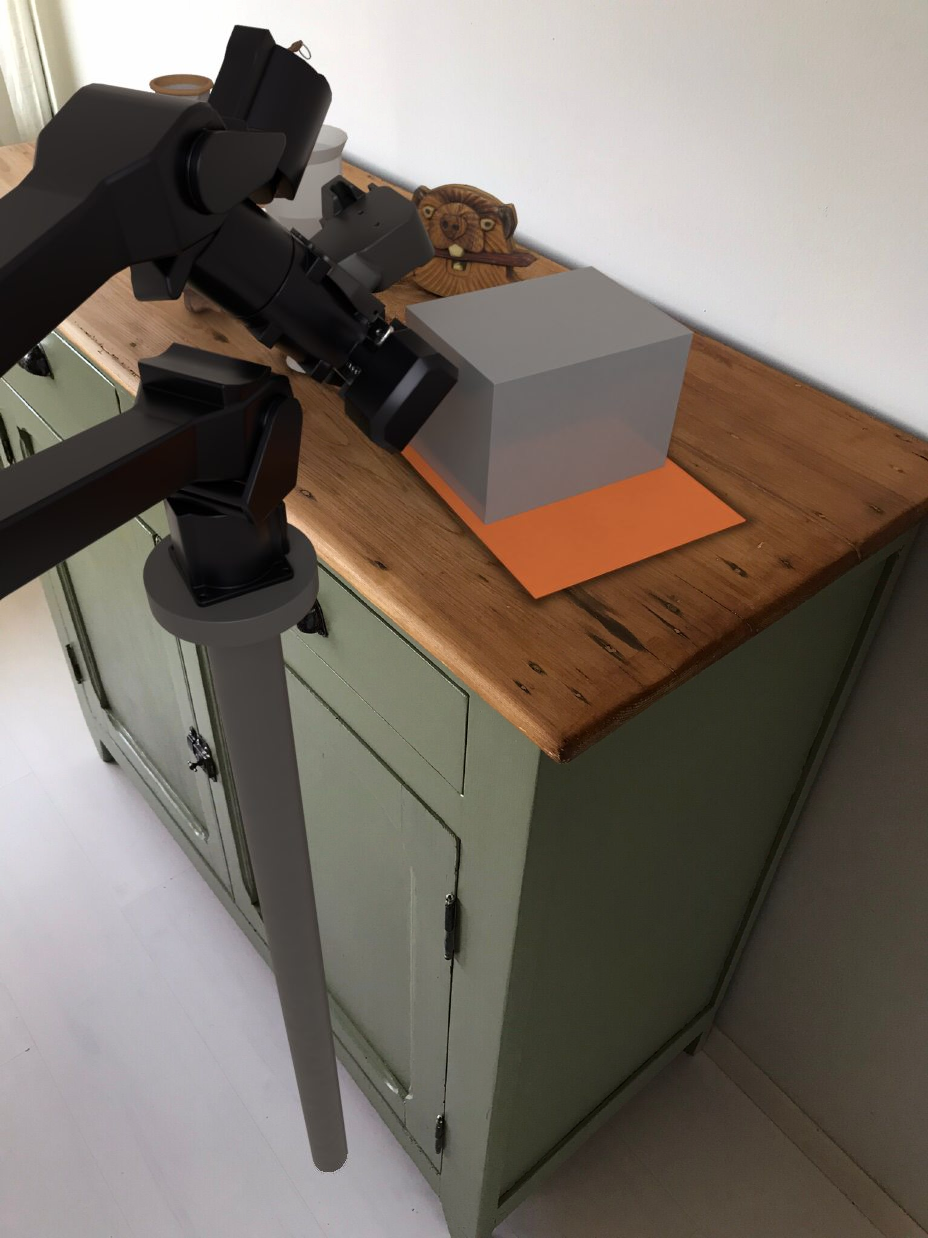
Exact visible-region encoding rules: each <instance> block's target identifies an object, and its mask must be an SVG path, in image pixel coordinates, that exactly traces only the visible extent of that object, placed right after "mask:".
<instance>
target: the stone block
mask: <svg viewBox="0 0 928 1238" xmlns="http://www.w3.org/2000/svg"><path fill="white" fill-rule="evenodd" d="M404 307H405V308H404V311H405V313H404V318H405V320H404V321H405V323H404V325H406V326H407V327H408V328H411V329H412V330H414V331H415V332H416V333H417V334H418V335H419V336H421V337H422V338H423V339H424V340H425V341H427V342H428V343H429V344H430V345H431V346H433V347H434V348H435V349H436V350H437V351H438V352H440V353H441V354H442V355H443V356H444V357H446V358H447V359H448V360H449V361H450V362H451V363H453V364H454V365H455V366H456V367H457V368H458V369H459V374H458V382H457V383H456V384H455V385H454V387H453V388H452V389H451V390H450V392H449V393H448V394H447V396H446V397H445V398H444V399H443V401H442V402H441V403H440V404H439V406H438V407H437V408H436V409H435V411H434V412H433V413H432V415H431V416H430V417H429V418H428V420H427V421H426V422H425V423H424V425H423V426H422V427H421V428H420V430H419V431H418V432H417V434H416V435H415V436H414V437H413V439H412V440H411V441H410V442H409V445H410V446H411V447H412V448H413V449H414V450H415V451H416V452H417V453H418V454H419V455H420V456H421V458H422V459H423V460H424V461H425V462H426V463H427V464H428V465H429V466H430V467H431V468H432V469H433V470H434V471H435V472H436V473H437V475H438V476H439V477H440V478H441V479H442V480H443V481H444V482H445V483H446V484H447V485H448V486H449V487H450V488H451V489H452V491H453V492H454V493H455V494H456V495H457V496H458V497H459V498H460V499H461V500H462V501H463V502H464V503H465V504H466V505H467V506H468V508H469V509H470V510H471V511H472V512H473V513H474V514H475V515H476V516H477V517H478V518H479V519H480V520H481V521H482V522H483V524H484V525H487V524H490V523H493V522H496V521H499V520H502V519H505V518H508V517H511V516H514V515H518V514H521V513H524V512H527V511H530V510H533V509H536V508H539V507H542V506H545V505H548V504H551V503H554V502H557V501H560V500H563V499H567V498H570V497H573V496H576V495H579V494H582V493H585V492H588V491H591V490H594V489H597V488H600V487H603V486H606V485H609V484H612V483H615V482H619V481H622V480H625V479H628V478H631V477H634V476H637V475H640V474H643V473H646V472H649V471H652V470H655V469H658V468H661V467H664V466H665V462H666V457H667V456H668V452H669V448H670V442H671V438H672V434H673V430H674V429H673V428H674V424H675V419H676V415H677V412H678V411H677V410H678V406H679V401H680V397H681V391H682V388H683V383H684V379H685V374H686V370H687V365H688V360H689V355H690V351H691V347H692V342H693V338H694V337H693V336H694V331H692V330H691V329H690V328H688V327H687V326H685V325H683V324H682V323H680V322H679V321H677V320H676V319H674V318H673V317H671V316H669V315H668V314H666V313H665V312H663V311H661V310H660V309H659V308H657V307H655V306H654V305H652V303H649V302H648V301H646V300H645V299H643V298H641V297H640V296H639V295H637V294H635V293H634V292H633V291H631V290H629V289H628V288H626V287H625V286H623V285H622V284H620V283H618V282H617V281H616V280H614V279H612V278H611V277H610V276H608V275H606V274H605V273H603V272H602V271H601V270H599V269H597V268H596V267H595V266H592V265H590V266H586V267H581V268H575V269H572V270H567V271H563V272H562V271H561V272H558V273H553V274H547V275H544V276H539V277H533V278H529V279H525V280H521V281H520V282H515V283H511V284H506V285H501V286H497V287H492V288H487V289H483V290H478V291H473V292H469V293H464V294H459V295H455V296H450V297H440V298H437V299H432V300H428V301H427V300H426V301H423V302H422V301H421V302H419V303H414V304H413V303H412V304H409V305H405V306H404ZM667 458H668V457H667Z"/></svg>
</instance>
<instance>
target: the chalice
mask: <svg viewBox="0 0 928 1238" xmlns="http://www.w3.org/2000/svg"><path fill="white" fill-rule="evenodd" d="M348 138H349V136H348V133H347V132H346V131H345V130H344V129H342V128H340V127H337V126H333V125H330V124H324V123H323V125H322V128H321V130H320V133H319V136H318V138H317V141H316V143H315V146H314V149H313V151H312V154H311V156H310V159H309V162H308V164H307V167H306V170H305V172H304V175H303V177H302V180H301V183H300V185H299V188H298V190H297V193H296V196H295V198H294V200H293V201H290V200H287V199H285V198H274V200H273V201H272V202H271V203H269V204H266V205H264V208H265V210H266V212H267V213H268V214H269V215H270V216H271V217H272V218H274V219H275V220H276V221H277V222H278V223H280V224H281V225H282V226H283V227H285V228H286V229H288V230H289V231H290V230H291V229H292V227H293V228H295V229H296V230H297V231H298V232H299V233H301V234H302V235H303V236H304V237H305V238H306V239H308V240H309V239H311V238H312V237H313V236H314V235H315V234H316V233H318V232H319V231H320V230H321V229H322V226H321V224H320V222H319V220H320V219H321V218H323V217H322V203H321V187H322V186H323V185H325V184H326V183H327V182H329V181H330V180H332V179H333V178H334V177H336V176H337V175H341V176H343V175H344V173H343V156H342V155H343V154H342V153H343V151H344V148H345V146H346V143H347V141H348ZM343 177H344V176H343ZM285 362H286V364H287V366H288V367H289V368H290V369H292V370H294V371H296V372H299V373H303V374H307V373H306V372H305V371H304V370H303V369H302V368H301V367H300V366H299V365H298V364H297V363H296V361H295V360H293V359H292V358H290V357H289V356H286V358H285Z"/></svg>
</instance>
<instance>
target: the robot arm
mask: <svg viewBox="0 0 928 1238" xmlns="http://www.w3.org/2000/svg"><path fill="white" fill-rule="evenodd" d="M286 48H287V47H284V46H283V45H280V44H278V43H277V42H276V40H275V38H274V36H273V35H272V33H271V31H270V29H269V28H263V27H257V26H249V25H243V24H234V26H233V28H232V30H231V33H230V36H229V38H228V40H227V43H226V47H225V52H224V56H223V60H222V62H221V65H220V68H219V71H218V73H217V76H216V78H215V81H214V82H213V83H214V85H213V88H212V89H210V95H209V98H208V100H207V102H204V101H199V100H193V99H187V98H181V97H176V96H170V95H164V94H159V93H155V92H154V91H153V92H152V91H147V90H141V89H135V88H129V87H125V86H124V87H123V86H118V85H112V84H106V83H99V82H92V83H88V84H86V85H84V86H81V87H80V88H78V90H76V92H74V93H73V94H72V95H71V97H70V98H69V99H68V100H67V101H66V102H65V103H64V105H62V107H61V108H60V109H59V110H58V111H57V112H56V113H55V114H54V116H53V117H51V119H50V120H49V121H48V122H47V123H46V124H45V126H44V127H43V128H42V129H41V130H40V132H39V133H38V135H37V137H36V140H35V147H34V152H33V153H34V154H33V162H32V168H31V170H30V171H29V172H28V173H27V174H26V175H25V177H24V178H23V179H22V180H21V181H20V182H19V183H18V184H17V185H16V186H15V187H14V188H12V189H11V190H10V191H8V192H7V193H6V194H4V195H3V196H2V197H0V379H2V378H3V377H4V376H5V375H6V374H7V373H9V372H10V371H11V370H12V369H13V368H14V367H15V366H16V365H17V364H18V363H19V362H21V360H23V359H24V358H25V357H26V356H27V355H28V354H29V353H30V352H31V351H32V350H34V349H35V348H36V347H37V346H38V345H39V344H40V343H41V342H42V341H43V340H45V339H46V338H47V337H48V336H49V335H50V334H51V333H53V332H54V331H55V329H56V328H58V327H59V326H60V325H61V324H62V323H63V322H65V321H66V319H68V318H69V317H70V316H71V315H72V314H73V313H74V312H76V310H78V309H79V308H80V307H81V306H82V305H83V304H84V303H85V302H86V301H87V300H88V299H90V298H91V297H92V296H93V295H94V294H95V293H96V292H97V291H98V290H100V289H101V288H102V287H103V286H104V285H105V284H106V283H107V282H108V281H109V280H111V279H112V278H113V277H114V276H115V275H118V274H119V273H121V272H123V271H124V270H126V269H128V268H129V271H130V283H131V287H132V292H133V296H134V298H135V300H137V301H138V302H141V303H145V302H146V303H147V302H165V301H166V302H168V301H178V300H179V299H180V298H181V297H182V294H183V290H184V287H185V285H186V286H188V287H189V288H191V289H192V290H193V291H195V292H196V293H198V294H199V295H201V296H202V297H204V298H205V299H206V300H208V301H209V302H211V303H212V304H214V305H215V306H217V307H218V308H219V309H221V310H222V311H223V312H224V313H225V314H227V315H228V316H229V317H231V318H232V319H234V320H235V321H237V322H238V323H240V324H241V325H242V326H243V327H244V328H245V329H246V330H247V331H248V332H249V333H250V335H251V336H252V337H253V338H254V339H255V340H256V341H257V342H258V343H260V344H261V345H263V346H264V347H265V348H267V349H269V350H272V349H273V348H276V349H277V350H278V351H280V352H282V353H283V354H284V355H286V357H288V356H289V357H290V358H292V359H293V360H295V361H296V363H297V364H298V365H299V366H300V367H301V368H302V369H303V370H304V371H305V372H306V373H305V374H306V375H307V376H308V377H309V378H311V379H312V380H314V381H315V382H317V383H318V384H319V385H321V384H323V382H324V383H325V384H327V385H330V386H334V387H338V388H339V389H338V390H337V392H336V395H337V396H338V397H339V398H340V399H341V400H342V402H343V407H344V408H343V409H344V410H343V411H344V414H345V416H346V417H348V419H349V420H350V421H351V422H352V424H354V425H355V426H356V427H357V428H358V430H360V431H361V432H362V434H364V436H365V437H366V438H367V439H368V440H369V441H370V442H371V443H373V444H374V445H376V446H378V447H379V448H381V449H382V450H383V451H385V452H386V453H388V454H390V455H392V456H393V455H396V454H399V453H401V452H402V451H403V450H404V449H405V447H406V446H407V445H408V444H409V442H410V441H411V440H412V439H413V437H414V436H415V435H416V434H417V432H418V431H419V430H420V428H421V427H422V426H423V425H424V423H425V422H426V421H427V420H428V418H429V417H430V416H431V415H432V413H433V412H434V411H435V409H436V408H437V407H438V406H439V404H440V403H441V402H442V401H443V399H444V398H445V397H446V396H447V394H448V393H449V392H450V390H451V389H452V388H453V387H454V385H455V384H456V383H457V382H458V374H459V369H458V368H457V367H456V366H455V365H454V364H453V363H451V362H450V361H449V360H448V359H447V358H446V357H444V356H443V355H442V354H441V353H440V352H438V351H437V350H436V349H435V348H434V347H433V346H431V345H430V344H429V343H428V342H427V341H425V340H424V339H423V338H422V337H421V336H419V335H418V334H417V333H416V332H415V331H414V330H412V329H411V328H408V327H407V326H406V325H405V323H403V321H401V320H400V319H399V318H398V317H396V316H394V317H393V318H392V320H391V321H390V323H389V322H387V319H386V318H387V317H386V316H387V315H386V309H385V308H386V307H387V305H386V304H385V303H384V302H383V301H382V300H381V299H379V298H378V297H376V295H375V294H380V293H383V292H384V291H386V290H388V289H390V288H391V287H392V286H394V285H395V284H397V283H398V282H400V281H401V280H403V277H404V278H406V277H405V276H406V275H407V274H409V273H410V272H411V271H413V270H414V269H416V268H417V267H423V266H425V265H426V264H427V263H429V262H430V261H431V260H432V258H433V257H434V255H435V250H434V247H433V245H432V243H431V240H430V238H429V235H428V233H427V231H426V228H425V226H424V224H423V221H422V219H421V217H420V214H419V212H418V209H417V207H416V205H415V204H414V203H413V202H411V200H410V199H409V198H407V197H405V196H404V195H402V194H401V193H400V192H398V191H397V190H395V189H394V188H393V187H391V186H389V185H381V186H378V185H377V184H375V183H374V182H370V183H369V184H368V185H366V186H367V189H368V192H366V191H364V190H362V189H361V188H360V187H358V186H357V185H355V183H353V182H351V181H350V180H348V179H347V178H345V177H344V176H341V175H337V176H336V177H334V178H333V179H332V180H330V181H329V182H327V183H326V184H325V185H323V186H322V187H321V203H322V217H323V218H321V219H320V220H319V222H320V224H321V226H322V229H321V230H320V231H319V232H318V233H316V234H315V235H314V236H313V237H312V238H311V239H309V240H308V239H306V238H305V237H304V236H303V235H302V234H301V233H299V232H298V231H297V230H296V229H295V228H293V227H292V229H291V230H290V231H289V230H288V229H286V228H285V227H283V226H282V225H281V224H280V223H278V222H277V221H276V220H275V219H274V218H272V217H271V216H270V215H269V214H268V213H266V212H265V211H264V210H263V209H262V208H263V207H261V205H263V206H265V205H266V204H269V203H271V202H272V201H273V200H274V198H285V199H287V200H290V201H293V200H294V198H295V196H296V193H297V190H298V188H299V185H300V183H301V180H302V177H303V175H304V172H305V170H306V167H307V164H308V162H309V159H310V156H311V154H312V151H313V149H314V146H315V143H316V141H317V138H318V136H319V133H320V130H321V128H322V125H323V124H324V123H325V120H326V117H327V114H328V112H329V109H330V107H331V105H332V101H333V93H332V88H331V85H330V82H329V81H328V79H327V77H326V76H325V75H324V74H322V73H320V72H318V71H317V70H316V69H315V68H314V67H313V66H312V65H311V64H310V63H309V62H308V61H307V60H306V59H305V58H303V57H302V56H300V55H298V54H297V53H296V52H292V51H290V50H288V49H286ZM137 368H138V374H139V378H140V379H139V383H138V386H137V391H136V394H135V395H136V396H135V399H134V404H133V406H132V407H130V408H129V409H127V410H125V411H123V412H121V413H119V414H116V415H115V416H112V417H110V418H108V419H106V420H103V421H102V422H100V423H98V424H95V425H93V426H91V427H88V428H87V429H85V430H83V431H80V432H79V433H76V434H73V435H72V436H70V437H68V438H65V439H64V440H61V441H59V442H57V443H55V444H53V445H51V446H48V447H45V448H44V449H42V450H40V451H38V452H36V453H34V454H32V455H29V456H27V457H25V458H23V459H21V460H19V461H16V462H15V463H13V464H10V465H8V466H6V467H3V468H2V469H0V602H1V601H3V599H5V598H7V597H8V596H9V595H11V594H13V593H14V592H16V591H18V590H19V589H21V588H23V587H24V586H26V585H27V584H29V583H31V582H33V581H34V580H35V579H37V578H39V577H40V576H43V575H44V574H45V573H47V572H49V571H50V570H52V569H53V568H55V567H58V565H60V564H62V563H63V562H65V561H67V560H68V559H70V558H71V557H74V556H75V555H76V554H78V553H80V552H81V551H83V550H84V549H86V548H88V547H89V546H91V545H93V544H94V543H96V542H97V541H100V540H101V539H103V538H104V537H106V536H107V535H109V534H111V533H112V532H114V531H116V530H117V529H119V528H121V527H122V526H123V525H126V524H127V523H129V522H130V521H132V520H134V519H135V518H137V517H139V516H140V515H142V514H144V513H145V512H146V511H149V510H150V509H152V508H153V507H155V506H156V505H158V504H160V503H161V502H163V506H164V510H165V511H164V512H165V515H166V520H167V524H168V529H169V534H171V538H172V543H173V544H171V545H170V546H169V547H168V552H169V555H170V557H171V559H172V561H173V563H174V564H175V566H176V568H177V570H178V572H179V574H180V575H181V577H182V579H183V581H184V583H185V585H186V586H187V588H188V590H189V592H190V594H191V596H192V597H193V599H194V601H195V603H196V605H197V606H199V607H208V606H211V605H214V604H217V603H220V602H224V601H227V600H230V599H233V598H236V597H239V596H242V595H245V594H248V593H251V592H255V591H258V590H261V589H264V588H267V587H270V586H273V585H276V584H279V583H282V582H285V581H289V580H291V579H293V578H294V569H293V568H292V566H291V565H290V563H289V562H288V560H287V559H286V557H285V556H284V555H286V554H289V552H290V541H289V532H288V523H289V522H288V515H287V506H286V502H285V501H284V499H286V497H288V495H290V493H291V492H292V491H293V490H294V489H295V488H296V487H297V483H298V472H299V463H300V455H301V443H302V435H303V434H302V432H303V423H304V411H303V406H302V404H301V401H300V400H299V399H298V398H297V397H295V393H294V390H293V388H292V385H291V380H290V378H289V376H288V375H285V374H281V373H278V372H274V371H272V370H273V369H272V366H270V365H266V364H263V363H258V362H255V361H250V360H247V359H242V358H238V357H234V356H230V355H227V354H223V353H219V352H214V351H211V350H208V349H202V348H198V347H194V346H192V345H191V346H190V345H187V344H183V343H179V342H175V341H174V342H172V343H171V344H170V345H169V346H168V348H166V350H165V351H163V352H161V353H160V354H158V355H155V356H151V357H143V358H140V359H138V360H137ZM287 522H288V523H287ZM285 573H286V574H285ZM204 599H205V600H204Z"/></svg>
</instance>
